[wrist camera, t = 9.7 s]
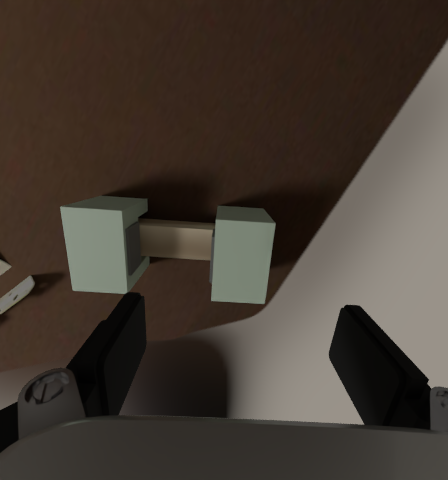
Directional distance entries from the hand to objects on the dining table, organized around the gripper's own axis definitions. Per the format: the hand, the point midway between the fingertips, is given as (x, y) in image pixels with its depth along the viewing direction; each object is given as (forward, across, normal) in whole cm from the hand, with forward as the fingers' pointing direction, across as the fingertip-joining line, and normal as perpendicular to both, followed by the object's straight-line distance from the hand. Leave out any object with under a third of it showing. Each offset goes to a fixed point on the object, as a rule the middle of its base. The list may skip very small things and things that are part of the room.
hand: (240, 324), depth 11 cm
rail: (+14, +5, 0) cm, 15 cm away
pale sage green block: (+14, -1, 0) cm, 14 cm away
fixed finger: (+14, +11, 0) cm, 18 cm away
